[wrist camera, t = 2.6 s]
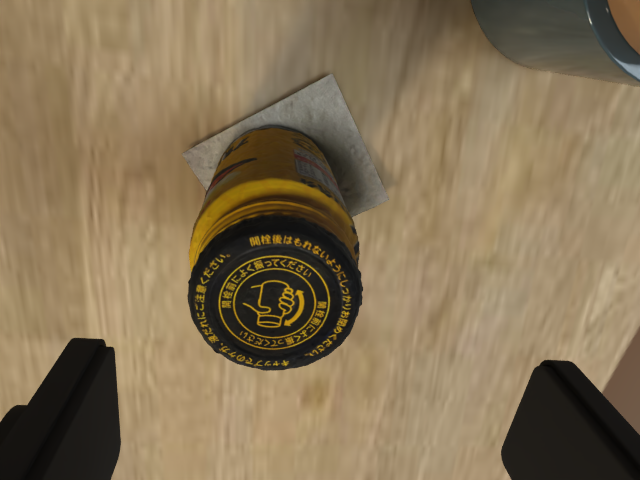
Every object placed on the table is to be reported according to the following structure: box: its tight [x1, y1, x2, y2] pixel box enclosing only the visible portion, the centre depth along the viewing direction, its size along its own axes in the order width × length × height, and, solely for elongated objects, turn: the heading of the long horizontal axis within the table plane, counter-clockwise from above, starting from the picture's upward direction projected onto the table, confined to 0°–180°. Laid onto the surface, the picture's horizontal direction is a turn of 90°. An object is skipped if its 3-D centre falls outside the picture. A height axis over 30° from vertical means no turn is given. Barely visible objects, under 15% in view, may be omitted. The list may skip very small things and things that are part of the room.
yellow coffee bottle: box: [182, 74, 389, 370], centre depth 18 cm, size 7×8×12 cm
